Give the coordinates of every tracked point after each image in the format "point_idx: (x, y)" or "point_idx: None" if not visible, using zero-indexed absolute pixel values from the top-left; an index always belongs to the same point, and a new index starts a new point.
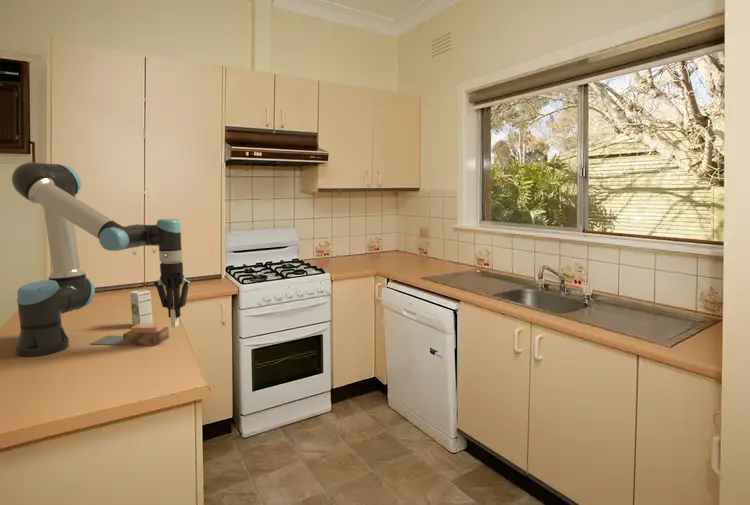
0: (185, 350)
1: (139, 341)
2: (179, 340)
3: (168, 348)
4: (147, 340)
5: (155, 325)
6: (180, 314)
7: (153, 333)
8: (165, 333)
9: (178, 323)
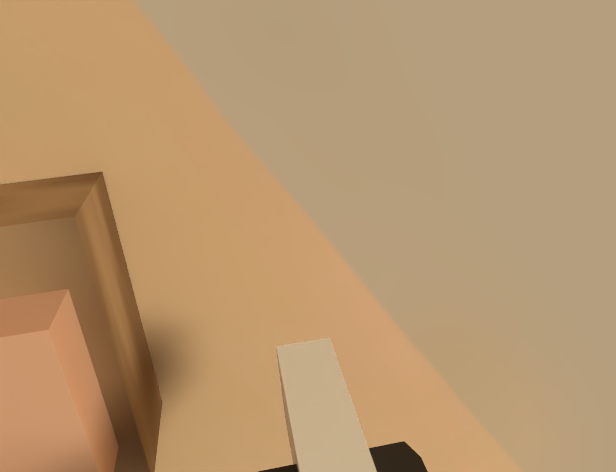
0: (460, 412)
1: None
2: (282, 232)
3: None
4: None
5: (23, 427)
6: (425, 469)
7: None
8: (106, 259)
9: (336, 363)
